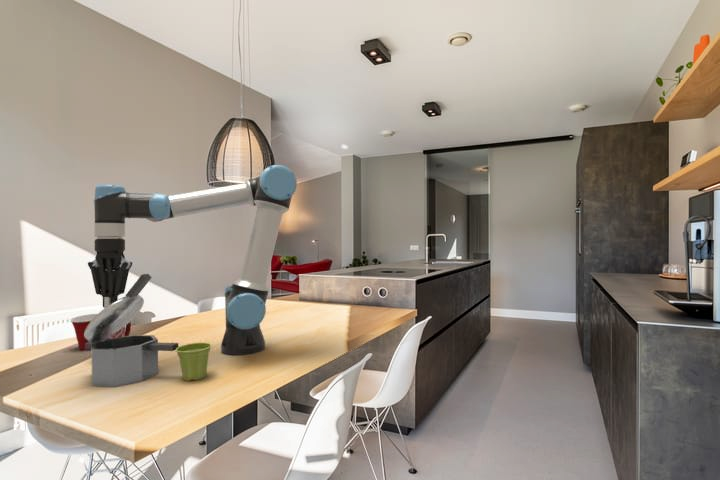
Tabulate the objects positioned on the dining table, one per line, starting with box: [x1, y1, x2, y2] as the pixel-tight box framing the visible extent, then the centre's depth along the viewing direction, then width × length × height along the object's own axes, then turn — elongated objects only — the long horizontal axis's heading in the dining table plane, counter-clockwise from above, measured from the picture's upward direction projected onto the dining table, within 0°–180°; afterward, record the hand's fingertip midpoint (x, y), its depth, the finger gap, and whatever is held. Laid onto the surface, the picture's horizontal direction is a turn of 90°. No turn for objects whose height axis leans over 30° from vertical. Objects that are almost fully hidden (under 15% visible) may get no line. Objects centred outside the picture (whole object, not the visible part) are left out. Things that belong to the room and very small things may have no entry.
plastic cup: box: [69, 313, 98, 351], centre depth 145 cm, size 11×11×12 cm
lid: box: [84, 273, 152, 344], centre depth 113 cm, size 25×17×3 cm
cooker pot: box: [85, 334, 179, 388], centre depth 113 cm, size 28×16×10 cm, turn 81°
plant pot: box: [175, 342, 212, 382], centre depth 111 cm, size 9×9×9 cm
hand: (110, 318), depth 114 cm, fingers closed
